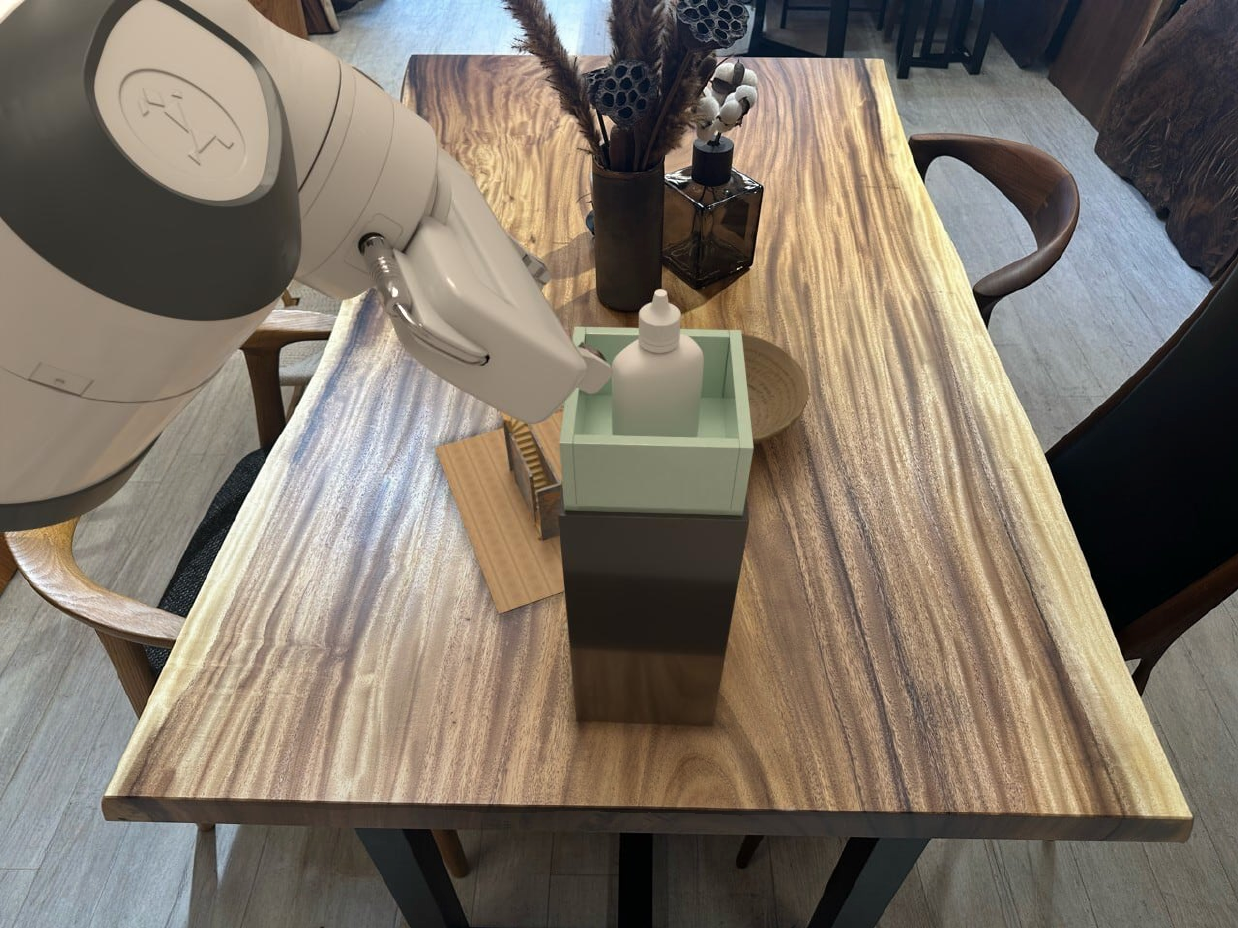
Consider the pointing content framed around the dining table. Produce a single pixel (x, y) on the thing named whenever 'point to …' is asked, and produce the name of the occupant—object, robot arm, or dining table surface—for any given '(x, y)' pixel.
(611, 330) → the square pedestal with tray
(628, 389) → the eye dropper bottle
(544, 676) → the dining table surface
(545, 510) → the ruin model on sheet
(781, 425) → the bowl
